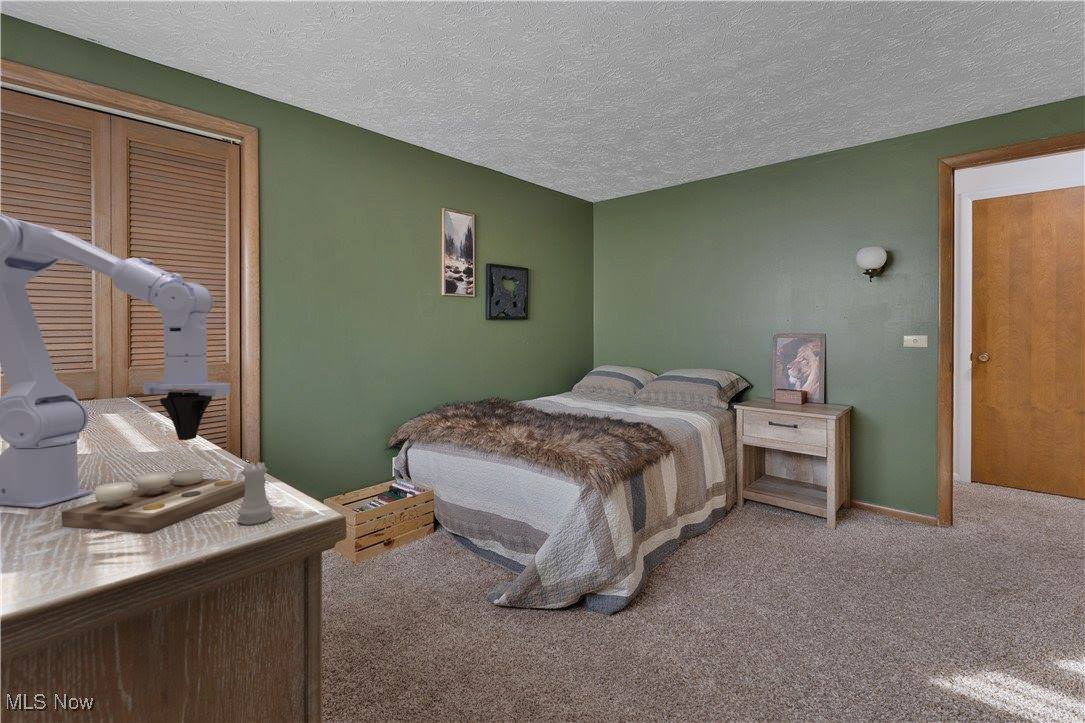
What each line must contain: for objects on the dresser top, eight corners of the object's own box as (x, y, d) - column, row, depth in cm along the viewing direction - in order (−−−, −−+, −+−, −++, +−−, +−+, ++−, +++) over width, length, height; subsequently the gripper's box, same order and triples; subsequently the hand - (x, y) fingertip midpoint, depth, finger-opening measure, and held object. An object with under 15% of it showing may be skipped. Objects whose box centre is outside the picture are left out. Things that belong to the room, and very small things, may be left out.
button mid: (130, 496, 75) (130, 477, 75) (155, 488, 79) (154, 470, 79) (153, 497, 75) (152, 478, 74) (177, 489, 78) (176, 472, 78)
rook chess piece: (257, 527, 69) (256, 469, 69) (229, 524, 70) (228, 467, 70) (280, 516, 73) (279, 461, 73) (253, 513, 74) (253, 459, 74)
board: (62, 525, 69) (61, 507, 69) (178, 488, 87) (178, 474, 87) (149, 533, 66) (148, 514, 66) (250, 493, 84) (250, 478, 84)
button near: (87, 509, 69) (87, 488, 69) (116, 500, 73) (116, 481, 73) (112, 510, 69) (111, 490, 68) (140, 501, 73) (139, 482, 72)
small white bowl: (167, 491, 81) (166, 474, 81) (188, 484, 85) (188, 468, 85) (188, 493, 80) (188, 475, 80) (209, 486, 84) (208, 469, 84)
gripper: (124, 356, 79) (125, 441, 80) (204, 357, 77) (205, 445, 77) (164, 355, 86) (166, 434, 87) (239, 356, 84) (240, 437, 84)
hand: (187, 439), depth 82 cm, fingers closed
